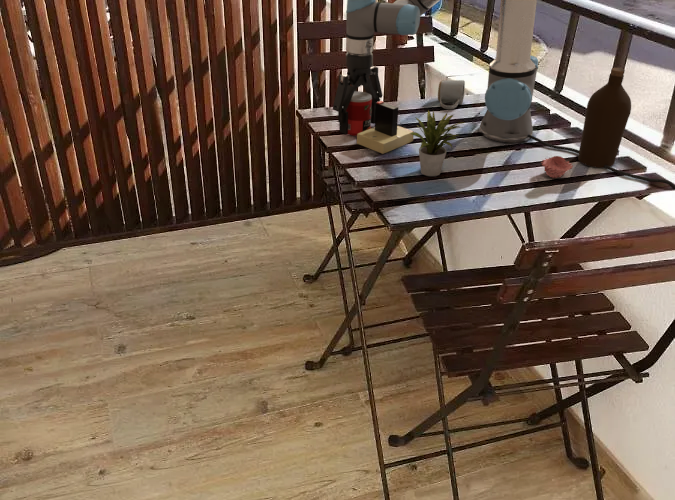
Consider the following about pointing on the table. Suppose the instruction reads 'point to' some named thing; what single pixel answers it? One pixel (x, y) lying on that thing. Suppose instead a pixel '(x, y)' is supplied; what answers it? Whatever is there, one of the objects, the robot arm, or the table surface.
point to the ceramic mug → (451, 93)
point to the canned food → (359, 113)
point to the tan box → (384, 139)
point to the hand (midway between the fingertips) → (357, 127)
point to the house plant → (434, 144)
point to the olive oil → (605, 122)
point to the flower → (556, 166)
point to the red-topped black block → (386, 118)
